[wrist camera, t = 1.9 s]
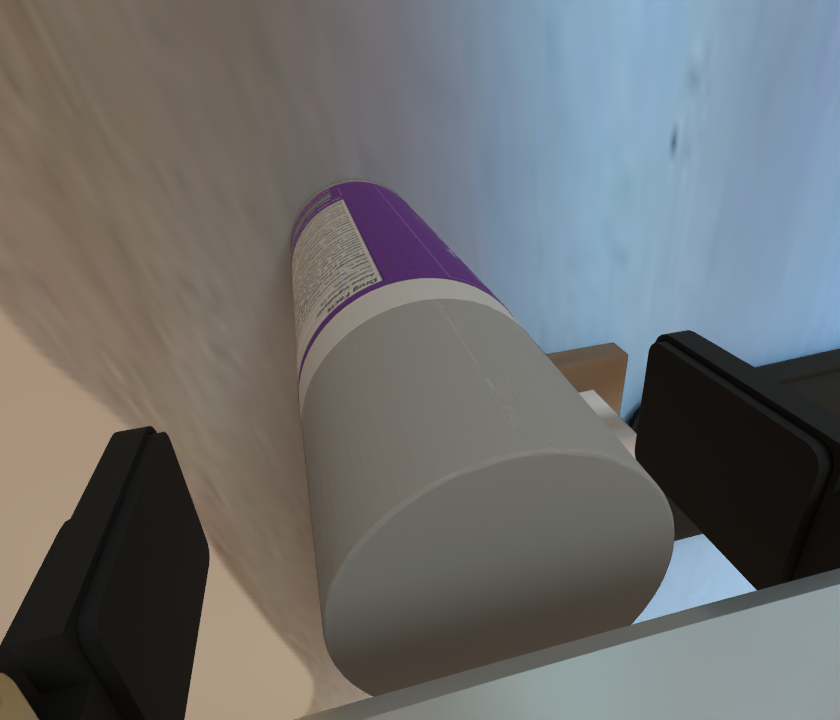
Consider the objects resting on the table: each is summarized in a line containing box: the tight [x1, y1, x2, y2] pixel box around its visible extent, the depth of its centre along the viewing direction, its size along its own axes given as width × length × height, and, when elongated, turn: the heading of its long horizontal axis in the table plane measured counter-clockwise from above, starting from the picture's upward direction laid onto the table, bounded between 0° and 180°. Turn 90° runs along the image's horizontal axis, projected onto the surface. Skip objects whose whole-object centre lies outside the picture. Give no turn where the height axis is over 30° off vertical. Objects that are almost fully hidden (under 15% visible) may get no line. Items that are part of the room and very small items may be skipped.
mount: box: [547, 343, 637, 458], centre depth 24 cm, size 14×14×5 cm
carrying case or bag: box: [631, 349, 840, 541], centre depth 28 cm, size 11×3×15 cm
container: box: [291, 179, 675, 697], centre depth 13 cm, size 5×5×15 cm
